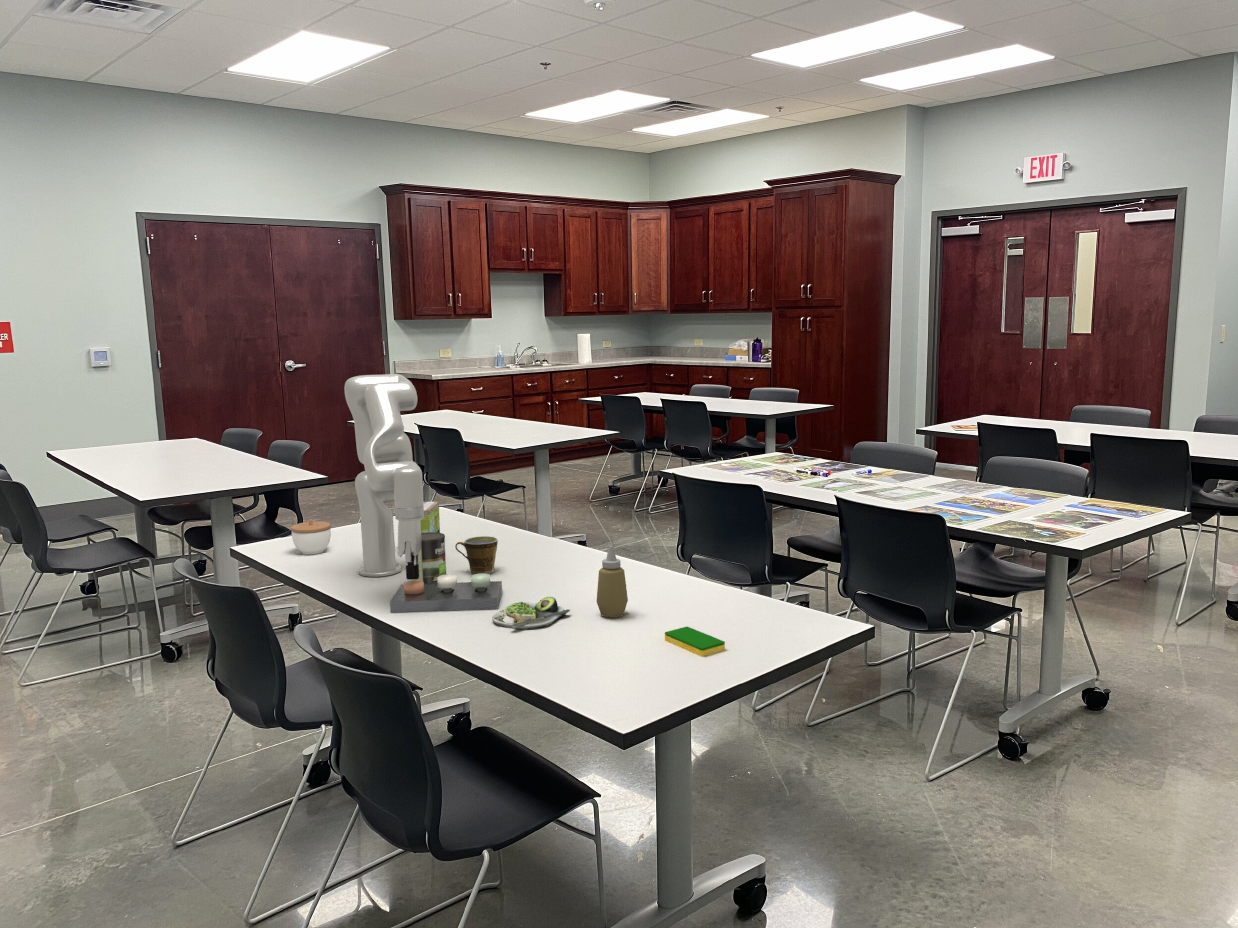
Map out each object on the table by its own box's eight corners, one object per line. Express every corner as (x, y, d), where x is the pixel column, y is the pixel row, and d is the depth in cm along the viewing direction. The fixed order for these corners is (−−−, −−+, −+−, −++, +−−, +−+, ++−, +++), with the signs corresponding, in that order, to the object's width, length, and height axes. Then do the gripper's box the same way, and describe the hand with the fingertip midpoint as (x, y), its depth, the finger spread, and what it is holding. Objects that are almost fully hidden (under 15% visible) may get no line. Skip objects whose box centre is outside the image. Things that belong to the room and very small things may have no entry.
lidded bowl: (317, 545, 318) (314, 514, 317) (340, 550, 311) (338, 518, 309) (284, 553, 308) (282, 521, 306) (308, 558, 301) (305, 525, 299)
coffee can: (452, 578, 274) (450, 532, 272) (439, 588, 264) (436, 540, 262) (420, 577, 276) (417, 531, 274) (405, 587, 266) (402, 539, 264)
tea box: (432, 553, 305) (429, 509, 302) (401, 553, 305) (399, 509, 303) (441, 542, 320) (439, 500, 317) (412, 542, 320) (409, 500, 317)
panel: (401, 594, 259) (401, 584, 259) (502, 591, 260) (501, 581, 260) (390, 612, 243) (389, 601, 243) (497, 609, 245) (497, 598, 244)
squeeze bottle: (605, 621, 233) (603, 552, 230) (591, 612, 240) (589, 545, 237) (633, 616, 236) (632, 547, 233) (619, 607, 243) (617, 541, 241)
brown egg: (406, 599, 254) (405, 580, 253) (426, 599, 254) (424, 579, 253) (403, 605, 249) (402, 586, 248) (423, 604, 249) (421, 585, 248)
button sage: (472, 592, 254) (471, 573, 254) (491, 592, 255) (490, 573, 254) (470, 598, 249) (469, 578, 248) (490, 597, 250) (489, 578, 249)
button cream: (439, 593, 254) (438, 574, 253) (458, 593, 254) (457, 574, 253) (436, 599, 249) (435, 580, 248) (456, 598, 249) (455, 579, 248)
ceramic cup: (502, 567, 285) (501, 536, 283) (494, 576, 275) (493, 544, 273) (461, 567, 286) (459, 536, 285) (452, 576, 276) (450, 544, 275)
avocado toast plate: (542, 637, 223) (542, 619, 222) (477, 629, 230) (477, 611, 229) (575, 613, 241) (575, 596, 240) (514, 606, 247) (514, 590, 247)
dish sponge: (701, 658, 208) (701, 648, 207) (663, 641, 219) (663, 631, 218) (725, 651, 212) (725, 641, 211) (687, 635, 223) (687, 625, 222)
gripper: (400, 506, 255) (403, 570, 258) (389, 519, 240) (393, 587, 243) (428, 506, 255) (430, 570, 258) (419, 518, 240) (422, 586, 244)
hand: (412, 578), depth 251 cm, fingers closed
